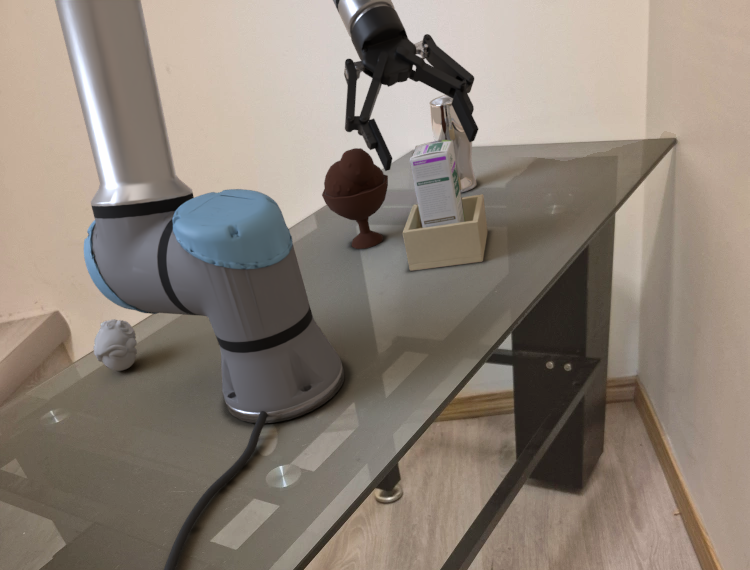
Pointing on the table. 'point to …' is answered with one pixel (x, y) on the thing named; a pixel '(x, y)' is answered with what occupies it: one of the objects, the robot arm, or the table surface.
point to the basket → (447, 238)
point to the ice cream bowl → (356, 193)
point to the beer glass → (453, 138)
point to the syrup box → (437, 183)
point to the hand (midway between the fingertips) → (432, 150)
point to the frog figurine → (115, 344)
